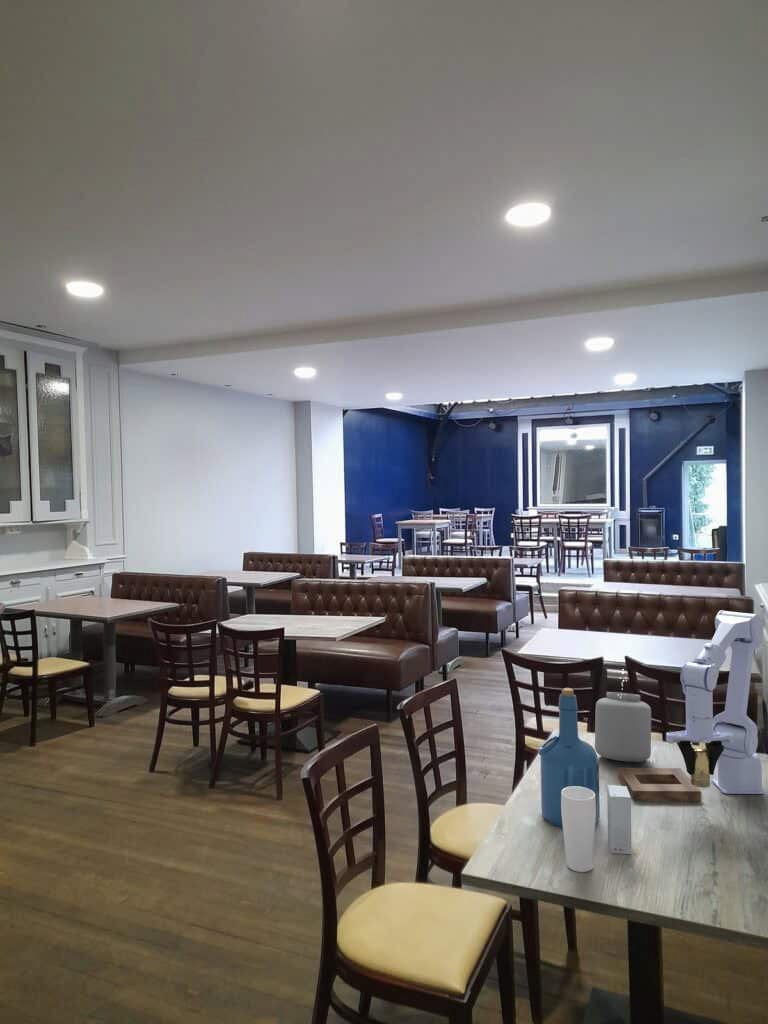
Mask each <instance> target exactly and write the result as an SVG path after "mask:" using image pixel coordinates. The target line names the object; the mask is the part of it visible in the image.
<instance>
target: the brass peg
mask: <svg viewBox="0 0 768 1024" xmlns="http://www.w3.org/2000/svg"><path fill="white" fill-rule="evenodd" d="M692 747H693V748H694V749H695V750H694V755H693V775H690V780H691V784H692V785H694V786H697V787H698V788H703V789H704V788H709V787H710V786H711V779H710V778H711V777H710V776H711V775H710V758H709V750H708V749H707V748H706V747H704V746H692Z"/></svg>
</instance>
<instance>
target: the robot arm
mask: <svg viewBox="0 0 768 1024" xmlns="http://www.w3.org/2000/svg"><path fill="white" fill-rule="evenodd" d="M714 627H715V632H714V635H713V637H712V638H711V640H710V642H707V643H704V644H703V645H702V646H701V647H700V649H699V650H698V652H697V653H696V655H694V658H693V659H692V661H691V662H690V661H689V662H686V663H684V664H683V665H682V668H681V670H680V677H679V678H680V682H681V685H682V686H681V687H682V693H683V695H685V730H680V731H673V732H666V734H665V740H666V742H667V743H668V744H669V745H671V744H674V743H676V745H677V746H678V749H679V750H680V752H681V755H682V757H683V761H684V764H685V769H686V773H688V775H690V776H691V775H693V755H694V750H695V749H694V748H693V747H694V746H692V743H702V744H704V745H705V748H707V749H708V750H709V758H710V776H713V775H714V774H715V771H716V770H715V769H716V766H717V778H712V779H711V781H712V783H713V784H714V785H715V786H716V787H717V788H718V789H719V791H721V792H722V793H723V794H726V795H729V794H730V795H732V794H733V795H734V794H736V795H738V794H739V795H763V794H764V791H763V768H762V767H763V766H762V761H761V759H760V757H759V754H757V753H756V752H757V749H758V746H759V745H758V744H759V738H758V726H757V725H756V723H755V722H754V721H753V720H752V719H751V718H750V717H749V716H748V714H747V711H748V705H749V703H748V702H749V695H750V687H751V676H752V668H753V662H754V661H753V660H754V654H755V650H757V649H761V646H762V642H763V635H764V622H763V618H762V616H761V615H760V614H759V613H748V612H747V613H746V612H737V611H730V610H729V611H728V610H723V609H721V610H719V611H718V612H717V614H716V616H715V618H714ZM729 647H730V648H731V657H730V667H729V674H728V682H727V689H726V690H727V691H726V698H725V699H726V700H725V705H724V711H722V712H720V713H718V714H715V716H714V711H713V710H714V708H713V707H714V706H713V705H714V702H713V701H714V700H713V699H714V698H713V693H714V692H713V690H714V689H716V687H717V681H718V678H719V672H720V669H721V667H722V666H723V664H724V663H725V661H726V659H727V655H726V654H727V653H726V651H727V649H728V648H729ZM730 724H732V725H730ZM735 725H736V726H735ZM738 726H739V727H738Z"/></svg>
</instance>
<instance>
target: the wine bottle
mask: <svg viewBox="0 0 768 1024" xmlns="http://www.w3.org/2000/svg"><path fill="white" fill-rule="evenodd" d="M573 689H574V688H570V687H565V688H561V693H560V694H559V698H558V710H559V711H558V713H559V714H558V715H559V716H558V719H559V720H558V734H556V735H555V736H553V737H551V738H549V739H548V740H547V741H546V742H544V744H543V745H542V746H541V747H540V748H539V750H537V751H538V752H537V754H539V756H540V758H539V761H540V803H541V805H540V806H541V808H540V809H541V815H542V817H543V819H545V820H546V821H547V822H548V823H549V824H551V825H553V826H557V827H560V828H562V829H563V824H562V815H561V791H562V789H564V788H566V787H570V786H580V787H585V788H588V789H590V790H592V791H593V792H594V793H595V799H596V823H595V825H596V824H597V823H598V822H599V820H600V818H601V813H600V812H601V809H600V808H601V807H600V806H601V805H600V803H601V802H600V761H599V757H598V755H597V754H598V753H597V752H596V750H595V747H593V746H592V745H591V744H589V743H588V742H586V741H584V740H583V739H581V738H580V737H579V725H578V724H579V723H578V722H579V721H578V711H579V709H578V703H577V702H578V701H577V695H576V694H574V690H573Z"/></svg>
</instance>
